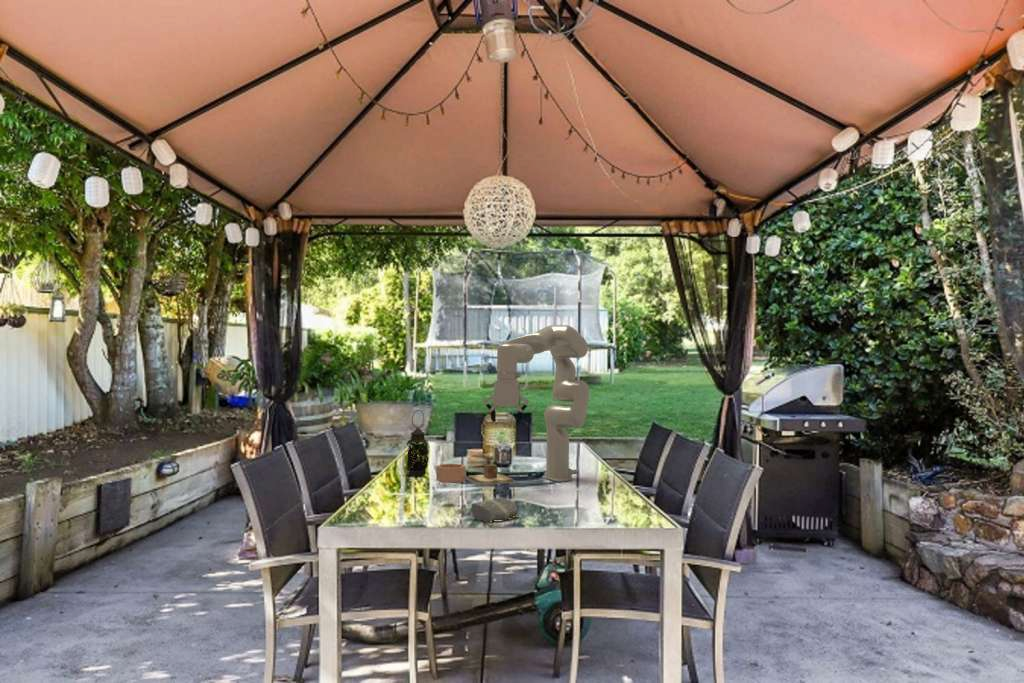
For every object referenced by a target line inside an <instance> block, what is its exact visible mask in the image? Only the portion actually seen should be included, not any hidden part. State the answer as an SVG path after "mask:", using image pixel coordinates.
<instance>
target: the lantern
mask: <svg viewBox="0 0 1024 683" xmlns="http://www.w3.org/2000/svg"><path fill="white" fill-rule="evenodd" d="M416 412H421V414H422V415H423V416H422V417H423V418H422V419H423V420H422V424H421V425H420V426H415V425H414V424H415V423H414V421H413V418H414V415H415V414H416ZM424 421H425V415H424V412H423V411H422V410H420V409H417V410H415V411H414V412H413V414H412V416H411V423H412V425H413V427H414V428H416V429H415V430H413V431H412V432H410V435H411V436H410V438H409V439H408V440H407V442H406V445H407V455H406V456H407V460H406V470H407V471H408V476H409V477H413V478H416V477H417V478H421V477H425V475H427V471H426V470H427V467H428V465H429V464H428V463H429V459H430V458H429V456H428V455H429V450H428V443H427V442H428V440H427V439H426V438H425V435H426V433H425V431H422V430H421V429H420V427H422V426H423V424H424V423H425V422H424Z"/></svg>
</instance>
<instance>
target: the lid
mask: <svg viewBox="0 0 1024 683" xmlns="http://www.w3.org/2000/svg"><path fill="white" fill-rule="evenodd" d="M483 468H484V469H483V471H484V472H483V473H484V474H475V475H468V476H467V477H468V478H469V479H471V480H474V481H476V482H478V483H480V484H488V483H502V482H513V480H514V479H513V478H511V477H509V476H506V475H504V474H501V473H498V465H497V464H492V463H491V464H484V465H483Z"/></svg>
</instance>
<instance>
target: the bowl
mask: <svg viewBox="0 0 1024 683" xmlns="http://www.w3.org/2000/svg"><path fill="white" fill-rule="evenodd" d="M466 468H467V466H466V465H464V464H462V463H444V464H443V463H441V464H438V465H436V475H435V476H436V481H438V482H441V483H461V482H464V481H466V477H467V475H466V474H467V473H466V472H467V471H466V470H467V469H466Z"/></svg>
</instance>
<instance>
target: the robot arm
mask: <svg viewBox="0 0 1024 683" xmlns="http://www.w3.org/2000/svg"><path fill="white" fill-rule="evenodd" d="M548 350H549V352H550V355H551V356H552V359H553V360H554V364H555V373H554V374H555V375H554V380H553V386H552V393H551V394H552V398H553V400H555V401H557V402H561V403H570V404H559V403H555V404H554V403H553V404H550V405H548V406H547V407H545V410H544V421H545V427H546V451H545V452H546V456H545V457H546V458H545V459H546V464H545V473H546V474H543V475H542V479H543V480H546V481H549V482H553V483H554V482H555V483H556V482H557V483H560V482H562V483H563V482H570V481H572V480H573V476H572V475H579V474H580V470H579V469H574V468H573V469H572V468H570V436H569V433H568V431H567V429H581V428H582V427H583V425H584V424H585V421H586V418H587V417H586V416H587V412H588V405H589V401H590V400H589V398H590V387H589V385H588V383H587V382H586V381H584V380H580V379H577V380H576V375H577V374H576V373H577V368H576V366H575V363H574V362H573V360H571V359H581V358H584V357H585V356H586V355H587V354H588V350H589V344H588V342H587V340H586V339H585V338H584V336H582V335H581V333H580V332H578V331H577V329H576V328H574V327H573V326H570V325H568V324H566V325H563V324H562V325H561V324H558V325H557V324H551V325H547V326H545V327H543V328H541V329H539V330H537V331H535V332H533V333H530V334H526V335H523V336H519V337H515V338H511V339H509V340H507V341H505V342H503V343H501V344H498V346H497V350H496V351H497V353H496V354H497V356H496V360H497V361H496V380H494V385H493V386H494V387H493V394H492V395H490V396H488V397H486V398H485V399H483V401H484V403H485V404H484V405H485V406H486V408H487V409H488V410H489V411H490V420H492V421H491V422H492V423H494V422H496V416H497V414H496V413H497V412H496V409H497V407H500V408H501V407H502V408H504V407H505V408H516V409H517V411H518V412H517V423H518V424H519V423H521V421H523V411H525V410H526V409H527V407H528V405H529V404H530V400H529V399H528V398H526V397H524V396H522V395H521V385H520V381H519V380H517V379H518V378H522V377H521V376H522V375H521V373H518V364H527V363H529V362H531V361H532V360H533V359H534V356H535V355H536V354H537V355H538V354H542V353H544V352H546V351H548ZM490 401H492V405H491V404H490ZM521 401H522V402H524V405H522V406H521V403H522V402H521ZM571 403H572V404H571Z"/></svg>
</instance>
